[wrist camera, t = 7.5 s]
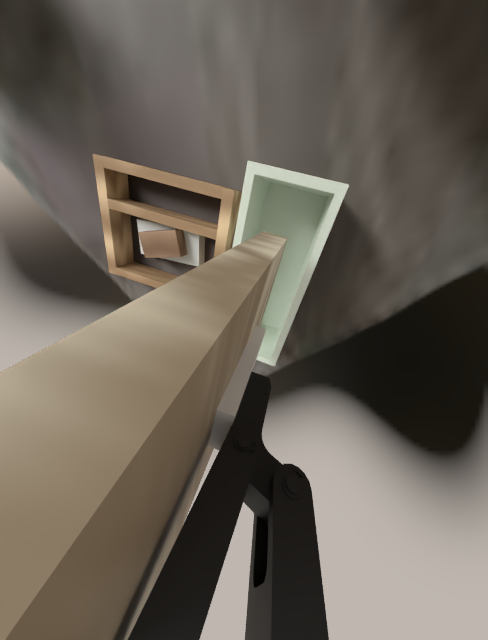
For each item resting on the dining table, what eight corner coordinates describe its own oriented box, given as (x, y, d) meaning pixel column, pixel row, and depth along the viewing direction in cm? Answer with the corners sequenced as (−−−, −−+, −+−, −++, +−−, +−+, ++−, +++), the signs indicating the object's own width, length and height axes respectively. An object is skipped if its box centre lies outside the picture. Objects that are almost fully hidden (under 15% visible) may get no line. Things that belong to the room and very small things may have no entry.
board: (235, 345, 23) (85, 621, 8) (263, 231, 16) (-273, 517, 1) (252, 351, 23) (133, 650, 7) (287, 237, 16) (-27, 687, 1)
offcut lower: (148, 218, 32) (136, 219, 30) (206, 229, 31) (199, 231, 28) (151, 250, 35) (141, 253, 33) (205, 262, 33) (198, 266, 31)
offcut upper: (147, 230, 31) (137, 232, 29) (182, 228, 29) (175, 230, 27) (153, 255, 32) (145, 257, 31) (187, 254, 31) (180, 257, 29)
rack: (117, 159, 29) (92, 153, 25) (244, 192, 26) (234, 190, 23) (127, 266, 37) (109, 272, 34) (224, 298, 35) (215, 308, 31)
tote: (266, 173, 25) (247, 160, 17) (337, 191, 24) (349, 184, 16) (234, 315, 36) (214, 344, 28) (282, 331, 35) (274, 366, 27)
